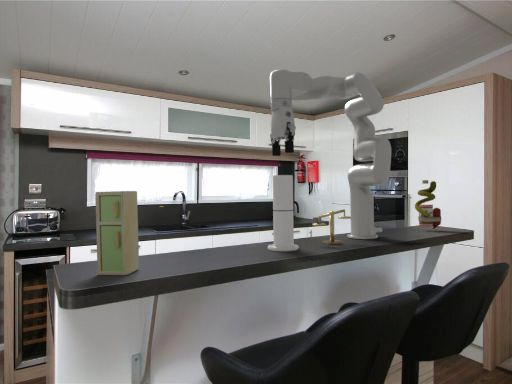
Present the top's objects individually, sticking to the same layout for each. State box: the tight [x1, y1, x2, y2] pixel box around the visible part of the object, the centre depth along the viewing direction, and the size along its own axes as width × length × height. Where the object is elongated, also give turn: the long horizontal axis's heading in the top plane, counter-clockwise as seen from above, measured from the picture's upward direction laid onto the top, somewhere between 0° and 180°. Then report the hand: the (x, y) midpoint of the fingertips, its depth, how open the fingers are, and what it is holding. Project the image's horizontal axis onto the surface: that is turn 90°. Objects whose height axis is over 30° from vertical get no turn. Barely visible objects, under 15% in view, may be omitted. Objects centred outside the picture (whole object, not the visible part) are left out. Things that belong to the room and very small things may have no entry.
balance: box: [311, 209, 351, 246], centre depth 123 cm, size 17×5×13 cm, turn 113°
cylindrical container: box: [272, 174, 295, 247], centre depth 114 cm, size 7×7×25 cm
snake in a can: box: [414, 179, 442, 230], centre depth 158 cm, size 12×10×25 cm
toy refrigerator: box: [94, 190, 140, 276], centre depth 82 cm, size 8×7×21 cm
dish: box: [267, 243, 300, 253], centre depth 114 cm, size 11×11×1 cm
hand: (282, 154), depth 114 cm, fingers open, 9 cm apart
